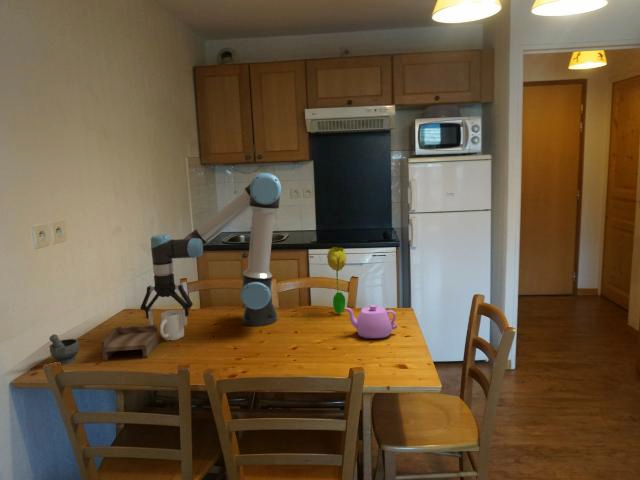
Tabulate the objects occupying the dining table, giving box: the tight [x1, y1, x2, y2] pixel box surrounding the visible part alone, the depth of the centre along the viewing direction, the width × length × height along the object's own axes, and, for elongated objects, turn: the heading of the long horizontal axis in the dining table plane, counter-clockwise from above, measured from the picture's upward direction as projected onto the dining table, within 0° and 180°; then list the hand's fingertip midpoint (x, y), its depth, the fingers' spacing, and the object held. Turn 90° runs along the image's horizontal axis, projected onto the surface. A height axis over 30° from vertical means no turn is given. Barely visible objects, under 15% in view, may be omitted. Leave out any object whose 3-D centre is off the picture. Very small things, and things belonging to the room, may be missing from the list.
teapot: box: [344, 304, 398, 339], centre depth 186 cm, size 20×13×12 cm, turn 84°
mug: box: [159, 309, 185, 341], centre depth 195 cm, size 12×8×10 cm
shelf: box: [100, 324, 160, 362], centre depth 184 cm, size 16×15×8 cm
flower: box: [326, 246, 347, 315], centre depth 211 cm, size 9×8×30 cm
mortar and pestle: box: [48, 333, 80, 366], centre depth 177 cm, size 11×9×12 cm
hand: (168, 325), depth 195 cm, fingers open, 13 cm apart
